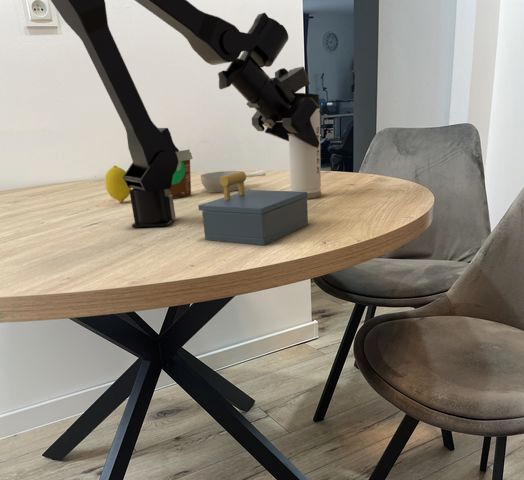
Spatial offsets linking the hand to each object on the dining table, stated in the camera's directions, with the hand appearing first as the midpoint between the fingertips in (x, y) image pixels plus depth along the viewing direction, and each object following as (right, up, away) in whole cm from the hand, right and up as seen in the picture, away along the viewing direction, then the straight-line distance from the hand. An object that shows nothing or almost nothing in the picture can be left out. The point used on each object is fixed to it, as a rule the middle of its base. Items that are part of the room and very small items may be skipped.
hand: (309, 144), depth 104 cm
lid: (-11, -19, -24) cm, 32 cm away
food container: (-32, -7, +15) cm, 35 cm away
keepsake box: (-10, -23, -22) cm, 33 cm away
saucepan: (-16, -3, +19) cm, 25 cm away
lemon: (-42, -8, +13) cm, 45 cm away
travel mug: (-1, -10, +4) cm, 10 cm away
